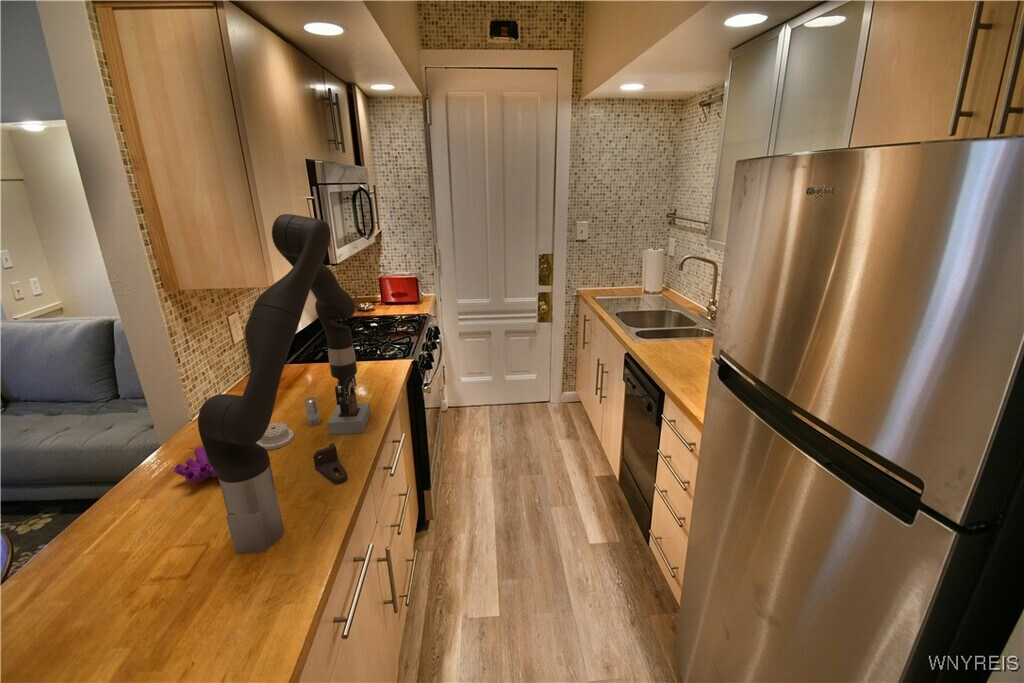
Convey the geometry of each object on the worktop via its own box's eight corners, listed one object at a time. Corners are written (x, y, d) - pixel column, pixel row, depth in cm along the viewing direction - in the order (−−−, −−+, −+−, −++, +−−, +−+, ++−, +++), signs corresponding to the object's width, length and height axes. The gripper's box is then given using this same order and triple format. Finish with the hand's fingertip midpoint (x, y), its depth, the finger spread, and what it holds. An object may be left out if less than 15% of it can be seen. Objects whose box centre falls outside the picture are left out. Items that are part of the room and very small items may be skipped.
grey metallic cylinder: (318, 424, 141) (314, 402, 139) (306, 425, 141) (302, 402, 138) (321, 419, 145) (317, 397, 142) (309, 420, 144) (306, 397, 142)
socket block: (363, 432, 137) (361, 421, 136) (329, 434, 136) (327, 422, 135) (370, 413, 148) (369, 403, 147) (339, 415, 147) (338, 404, 146)
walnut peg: (355, 426, 140) (352, 398, 137) (342, 427, 140) (338, 398, 137) (358, 420, 144) (355, 392, 141) (346, 421, 144) (342, 392, 140)
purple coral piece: (236, 469, 125) (251, 446, 122) (200, 505, 111) (216, 480, 108) (199, 448, 123) (213, 423, 120) (157, 482, 108) (172, 455, 106)
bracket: (325, 490, 112) (322, 473, 110) (314, 465, 121) (311, 450, 120) (349, 481, 115) (346, 464, 113) (336, 458, 124) (333, 443, 123)
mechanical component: (248, 447, 129) (277, 453, 127) (245, 434, 128) (274, 439, 125) (273, 430, 138) (301, 435, 136) (271, 417, 137) (299, 422, 135)
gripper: (349, 368, 129) (356, 418, 134) (360, 351, 142) (365, 397, 147) (322, 369, 128) (330, 419, 133) (335, 352, 141) (342, 398, 147)
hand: (348, 407), depth 140 cm, fingers open, 8 cm apart
